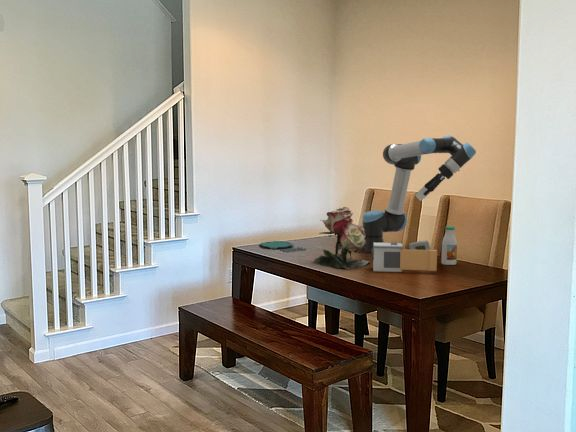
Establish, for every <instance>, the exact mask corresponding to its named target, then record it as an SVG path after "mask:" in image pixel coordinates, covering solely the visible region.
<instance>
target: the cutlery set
mask: <svg viewBox="0 0 576 432" xmlns="http://www.w3.org/2000/svg"><path fill="white" fill-rule="evenodd" d="M294 245H295V244H294V243H293V242H292V243H291V242H290V241H289V242H288V241H283V240H281V241H280V240H274V241H273V240H272V241H265V242H264V241H263V242H261V243H259V244H258V246H259V247H263V248H265V249H267V248H268V249H271V250H277V249H279V252H285V253H294V252H301V251H306V250H307V248H306V247H305V248H303V247H302V246H301V247H299V246H298V247H294Z"/></svg>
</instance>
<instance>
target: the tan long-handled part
mask: <svg viewBox="0 0 576 432" xmlns="http://www.w3.org/2000/svg"><path fill="white" fill-rule="evenodd" d="M437 261H438V250H437V249H431V250H409V248H408V249H405V248H403V249H400V270H402V271H429V272H437V270H438V269H437Z"/></svg>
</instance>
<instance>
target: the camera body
mask: <svg viewBox="0 0 576 432" xmlns="http://www.w3.org/2000/svg"><path fill="white" fill-rule="evenodd" d="M400 249H404V247H403V244H402V242H397V241H391V242H384V243H374V246H373V249H372V251H371V254H370V256H371V258H370V260H371V262H372V271H373V272H386V273H387V272H388V273H389V272H393V273H402V272H403V270H400Z"/></svg>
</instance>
